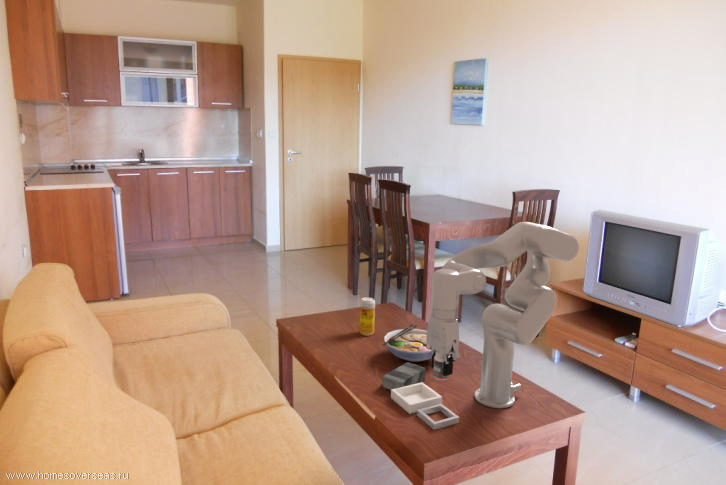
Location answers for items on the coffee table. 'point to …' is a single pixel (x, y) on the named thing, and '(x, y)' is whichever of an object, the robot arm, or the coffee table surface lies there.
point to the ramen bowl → (408, 344)
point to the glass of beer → (367, 316)
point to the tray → (415, 397)
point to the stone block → (404, 376)
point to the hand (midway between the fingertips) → (441, 370)
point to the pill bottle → (439, 367)
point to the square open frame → (442, 423)
